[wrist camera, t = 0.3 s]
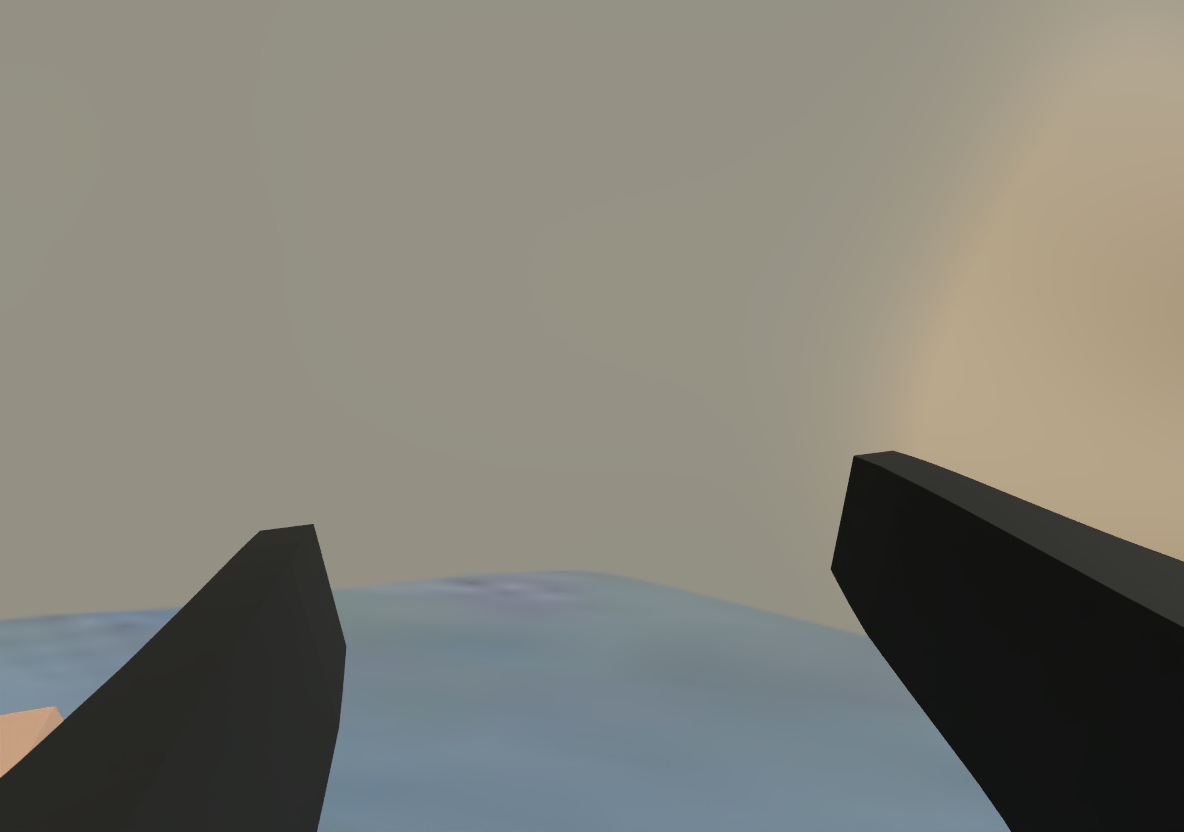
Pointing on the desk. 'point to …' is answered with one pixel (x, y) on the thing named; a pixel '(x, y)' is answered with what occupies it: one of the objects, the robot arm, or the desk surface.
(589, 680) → the desk surface
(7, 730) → the terracotta block
